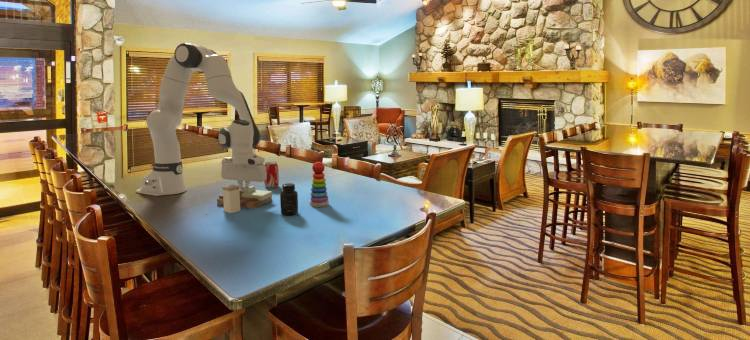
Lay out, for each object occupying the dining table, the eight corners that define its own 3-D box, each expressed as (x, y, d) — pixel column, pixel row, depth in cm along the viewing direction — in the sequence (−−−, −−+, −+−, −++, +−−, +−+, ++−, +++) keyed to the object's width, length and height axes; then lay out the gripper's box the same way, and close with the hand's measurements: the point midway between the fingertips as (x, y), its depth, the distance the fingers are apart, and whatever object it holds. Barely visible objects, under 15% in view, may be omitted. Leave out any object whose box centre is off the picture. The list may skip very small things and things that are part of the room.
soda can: (275, 188, 230) (274, 164, 228) (262, 187, 232) (261, 163, 229) (281, 185, 237) (280, 161, 235) (268, 184, 238) (267, 161, 236)
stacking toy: (308, 203, 203) (307, 160, 200) (326, 202, 206) (325, 159, 202) (312, 208, 196) (311, 163, 192) (330, 206, 199) (330, 162, 195)
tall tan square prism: (223, 211, 191) (222, 186, 189) (233, 208, 195) (232, 184, 193) (230, 213, 188) (229, 188, 186) (240, 210, 192) (239, 186, 190)
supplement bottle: (281, 211, 191) (280, 182, 188) (298, 211, 191) (298, 182, 189) (279, 216, 184) (278, 186, 182) (297, 216, 184) (296, 186, 182)
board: (217, 204, 200) (216, 196, 199) (235, 197, 213) (235, 189, 212) (255, 208, 195) (254, 199, 194) (271, 200, 208) (271, 192, 207)
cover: (241, 198, 199) (241, 189, 198) (252, 194, 207) (252, 185, 206) (262, 200, 197) (261, 191, 196) (272, 195, 204) (271, 186, 204)
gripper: (217, 158, 200) (218, 190, 203) (260, 161, 194) (261, 194, 197) (225, 156, 206) (227, 187, 209) (268, 158, 200) (269, 190, 203)
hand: (244, 190), depth 203 cm, fingers closed
